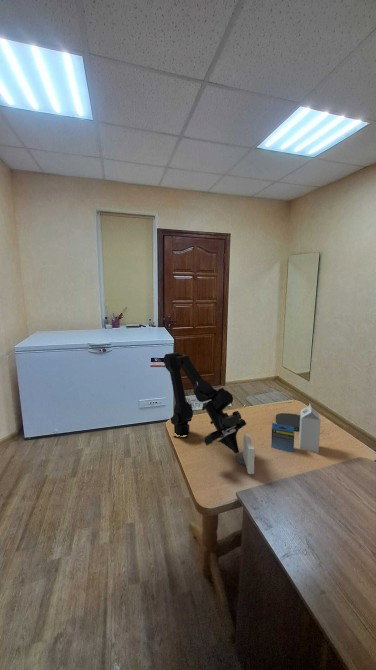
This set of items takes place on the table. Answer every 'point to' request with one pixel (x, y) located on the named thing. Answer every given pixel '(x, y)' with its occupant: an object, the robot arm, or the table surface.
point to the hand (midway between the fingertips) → (237, 453)
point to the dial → (247, 454)
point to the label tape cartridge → (282, 437)
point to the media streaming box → (288, 420)
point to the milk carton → (309, 430)
